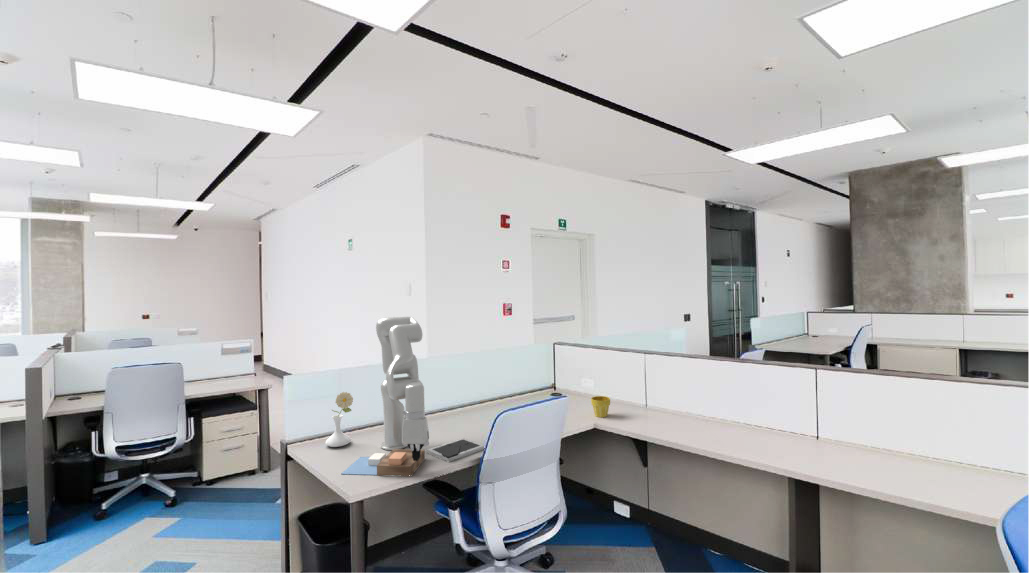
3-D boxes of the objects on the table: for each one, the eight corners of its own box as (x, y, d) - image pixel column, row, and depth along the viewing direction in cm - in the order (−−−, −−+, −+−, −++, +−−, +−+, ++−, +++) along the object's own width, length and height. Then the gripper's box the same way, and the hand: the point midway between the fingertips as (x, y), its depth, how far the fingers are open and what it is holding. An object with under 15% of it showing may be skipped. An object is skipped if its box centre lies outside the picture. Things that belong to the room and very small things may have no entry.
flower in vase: (323, 450, 221) (321, 396, 220) (327, 442, 232) (325, 390, 231) (353, 447, 224) (351, 394, 223) (355, 439, 235) (354, 388, 234)
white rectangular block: (385, 453, 207) (385, 459, 208) (374, 453, 208) (374, 458, 208) (379, 459, 201) (379, 465, 201) (367, 459, 201) (368, 465, 201)
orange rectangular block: (394, 458, 199) (394, 452, 198) (406, 458, 198) (406, 452, 198) (388, 464, 192) (388, 458, 192) (400, 464, 191) (400, 458, 191)
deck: (393, 458, 209) (393, 449, 209) (424, 458, 207) (424, 449, 207) (377, 475, 191) (376, 465, 191) (411, 476, 190) (410, 466, 189)
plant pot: (591, 418, 260) (591, 400, 260) (591, 413, 270) (590, 395, 270) (611, 418, 259) (610, 400, 259) (609, 413, 269) (609, 395, 269)
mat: (360, 457, 211) (360, 456, 211) (393, 458, 209) (393, 457, 209) (341, 474, 193) (341, 473, 193) (377, 475, 191) (377, 474, 191)
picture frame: (448, 463, 203) (485, 450, 218) (448, 456, 203) (485, 443, 218) (427, 454, 214) (463, 442, 229) (426, 447, 214) (463, 436, 229)
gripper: (393, 417, 191) (395, 462, 191) (430, 417, 189) (431, 463, 189) (400, 411, 198) (401, 455, 198) (435, 412, 196) (437, 456, 197)
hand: (416, 459), depth 194 cm, fingers closed
